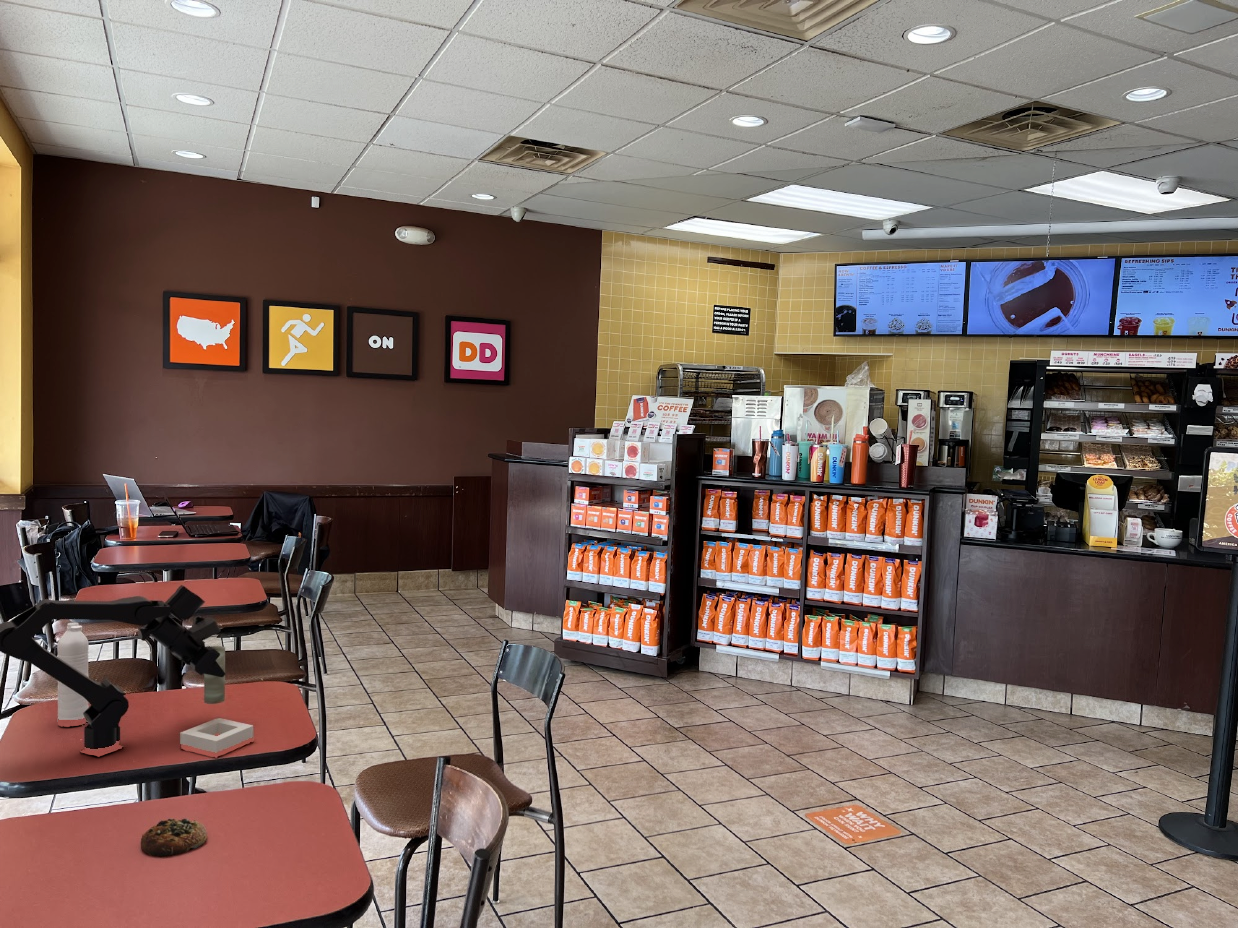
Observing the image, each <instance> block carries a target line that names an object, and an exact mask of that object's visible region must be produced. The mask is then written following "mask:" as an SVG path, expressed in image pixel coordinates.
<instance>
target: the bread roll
mask: <svg viewBox="0 0 1238 928" xmlns="http://www.w3.org/2000/svg"><path fill="white" fill-rule="evenodd" d="M207 834H208V832H207V829H206V826H205V825H204V824H203V823H202V822H199V821H198V820H195V819H193V820H190V819H188V818H182V819H175V818H168V819H165V820H160V821H158V823H157V824H156V825H153V826H151V827H150V828H149V829H148V830H146V831H145V832H144V833H143V834H142V835H141V838H140V847H141V849H142V851H143V852H145V853H146V854H147V855H150V856H153V857H156V858H165V857H166V858H167V857H170V856H177V855H180V854H184V853H188V852H189V851H190V849H197V848H200V847H201V846H202V845H204V844H205V843H206V840H207V839H208V838H207V837H208V835H207Z"/></svg>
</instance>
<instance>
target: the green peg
mask: <svg viewBox="0 0 1238 928" xmlns="http://www.w3.org/2000/svg"><path fill="white" fill-rule="evenodd" d="M210 647H212V648H213V649H215V650H216V651H217V652H219V653H220V656H219V657H218V658H217V659H216V662H217V663H218V664H219V666H220V667H221V668H222V670H223V671H224V672H225V673H226V647H225V646H222V645H213V646H212V645H211V646H210ZM203 676H204V677H203V693H204V694H203V697H204V699H203V703H205V704H207V705H208V704H209V705H215V704H220V703H223V702H225V700H226V675H225V676H224V677H218V676H213V675H208V674H203Z"/></svg>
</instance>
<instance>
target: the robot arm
mask: <svg viewBox="0 0 1238 928" xmlns="http://www.w3.org/2000/svg"><path fill="white" fill-rule="evenodd" d="M205 603H206V601H205V600H204V599H203V598H202V597H200V596H199V595H198V594H197V593H194V592H193V591H191V590H190V589H188V588H187V587H186V586H184V585H183V584H180V586H178V588H177V589H176V590H175V592H174V593H173V594H172V595H170V597H168V599H167V600H166V601H164V600H154V599H152V600H149V599H147V598H146V597H144V596H141V595H136V596H129V597H128V596H127V597H123V598H118V599H114V600H108V601H107V600H61V599H60V600H59V599H58V600H53V599H49V598H46V599H45V598H44V599H41V600H39V601H38V602H37V603H35V604H34V605H33V606H31V607H30V608H28V609H26V610H25V611H23V612H21V613H19V614H17V615H16V616H15V617H13V618H12V619H11V620H9V621H4V622H1V623H0V653H2V654H3V655H4V654H5V655H7V656H9V657H11V658H14V659H16V660H20V661H23V662H27V663H29V664H31V665H33V666H34V667H36V668H37V669H39V670H41V671H42V672H44V673H45V674H47V675H49V676H50V677H52V678H53V679H55V680H57V682H58V681H59V682H61V683H62V684H64V685H66V686H67V687H69V688H70V689H72V690H73V691H75V692H76V693H78V694H80V695H81V696H83V697H84V698H85V699H86V700H87V701H88V704H90V705H89V708H88V709H87V710H86V711H85V712H84V713H83V715H84V717H85V719H86V721H87V722H88V723H87V724H86V726H84V728H83V729H84V730H83V732H84V733H83V735H84V737H83V738H84V741H83V745H84V747H86V748H90V749H98V748H105V747H109V746H112V745H114V744H115V743H116V741H119V740H120V741H121V726H120V721H121V719H122V717H124V716H125V714H127V712H128V710H129V700H128V698H126V696H125V695H126V693H125V691H124V690H123V689H122V688H121V687H120V686H119V685H115V684H113V683H111V682H110V680H108V678H107V677H104V678H103V679H102V682H99V681H96V680H93V679H92V678H90V677H87V676H86V675H84V674H83V673H81V672H80V671H78V670H77V669H75V668H74V667H72V666H70V665H69V664H67V663H66V662H64V661H63V660H61V659H60V658H58V655H55V654H54V653H52V652H51V651H49V650H48V649H46V648H44V647H43V646H42V645H41V644H40V643H39V642H38V641H37V640H36V639H35V638H34V637H35V636H36V635H38V634H39V632H40V631H41V630H43V628H44V627H45V626H47V625H48V623H50V622H51V621H52V620H75V621H76V620H85V621H87V620H88V621H89V620H93V621H94V620H97V621H98V620H103V621H105V620H106V621H108V620H109V621H115V622H119V623H125V624H130V625H136V626H139V627H137V630H138V636H137V637H138V638H139V639H140V640H141V641H142V642H144V641H146V640H147V638H149V637H150V636H151V638H153V639H155V641H157V642H158V643H159V644H161V645H162V646H163V647H164V648H165V649H167V650H169V652H171V654H172V655H173V656H174V657H175V658H177V659H178V660H180V661H181V660H182V661H183V663H184V664H185V665H188V666H189V667H190V668H191V669H192V670H193V671H194V672H195V673H197V674H198V675H200V676H202V675H204V674H208V675H213V676H218V677H224V676H225V677H226V671H225V672H224V671H223V670H222V668H221V667H220V666H219V664H218V663H217V662H216V659H217V658H218V657H219V656H220V653H219V652H217V651H216V650H215V649H213V648H212V647H211V646H209V645H208V646H206V641H205V640H207V639H208V638H209V639H210V638H211V637H212V636H214V635H216V634H217V635H218V634H219V633H220V632H221V629H220V626H219V624H218V623H217V620H216V619H214V618H213V617H212V616H209V617H208V616H206V617H205V618H204V617H203V616H201V615H197V616H195V617H193V616H194V615H195V613H197V611H198V610H199V609H200V608H202V606H203V605H204V604H205ZM170 615H172V616H173V617H175V619H177V620H178V621H180V622H182V621H184V622H186V621H188V620H190V619H191V618H192V617H193V618H192V620H193V621H192V622H193V623H192V625H191V627H189V628H187V627H185V626H182V625H181V624H179V622H177V621H176V620H174V619H173V618H172V617H171V616H170ZM84 747H83V748H84Z"/></svg>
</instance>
